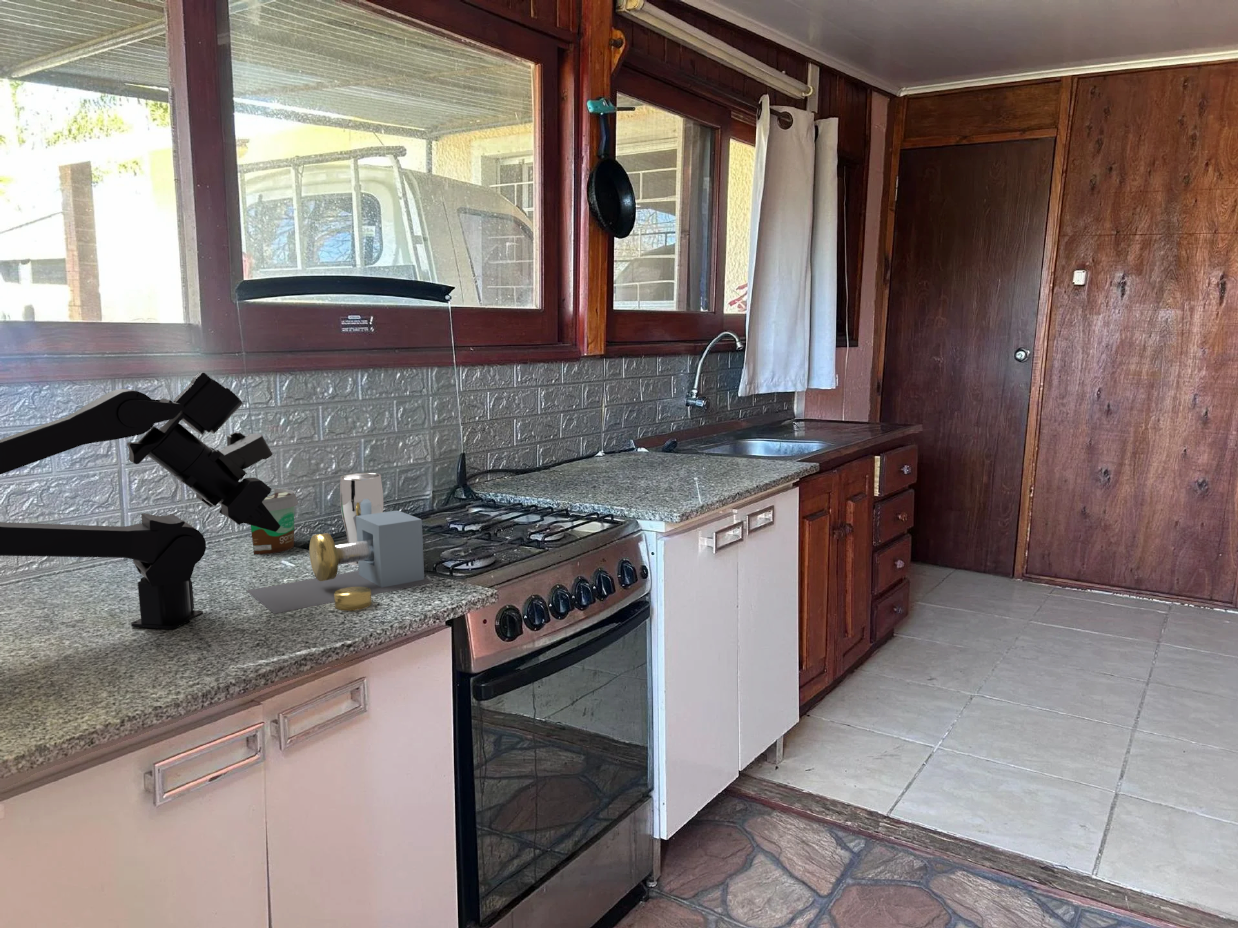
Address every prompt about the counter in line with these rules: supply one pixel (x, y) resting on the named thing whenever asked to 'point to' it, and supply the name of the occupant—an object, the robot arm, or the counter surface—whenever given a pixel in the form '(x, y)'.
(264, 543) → the food container
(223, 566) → the counter surface
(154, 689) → the counter surface
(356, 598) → the gold domed disc
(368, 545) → the shaft
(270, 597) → the mat
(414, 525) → the bearing block
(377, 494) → the beer glass
